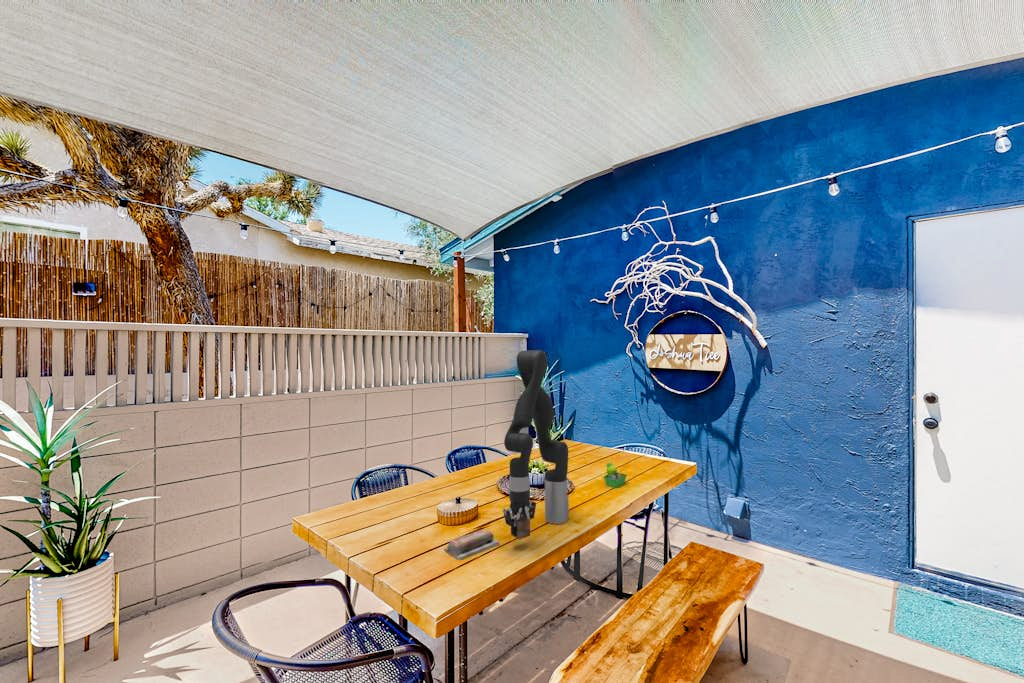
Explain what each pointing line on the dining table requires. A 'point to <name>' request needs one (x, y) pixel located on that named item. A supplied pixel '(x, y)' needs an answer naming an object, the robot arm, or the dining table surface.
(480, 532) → the packaged product
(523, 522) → the walnut block
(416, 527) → the dining table surface
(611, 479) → the potted cactus
